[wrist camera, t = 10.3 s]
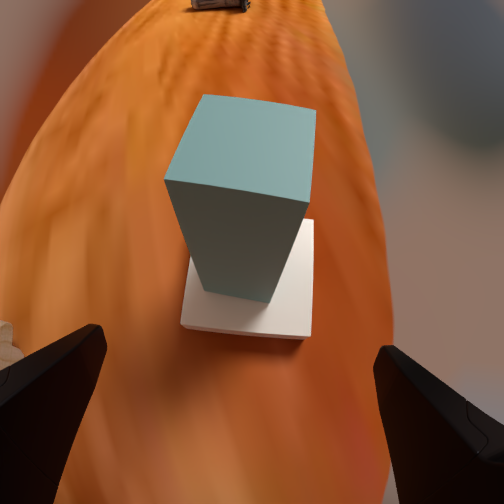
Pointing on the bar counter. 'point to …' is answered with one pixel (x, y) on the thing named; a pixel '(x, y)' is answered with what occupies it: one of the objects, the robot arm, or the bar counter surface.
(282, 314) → the base brick
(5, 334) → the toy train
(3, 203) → the bar counter surface
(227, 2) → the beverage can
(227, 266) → the teal column
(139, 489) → the bar counter surface
